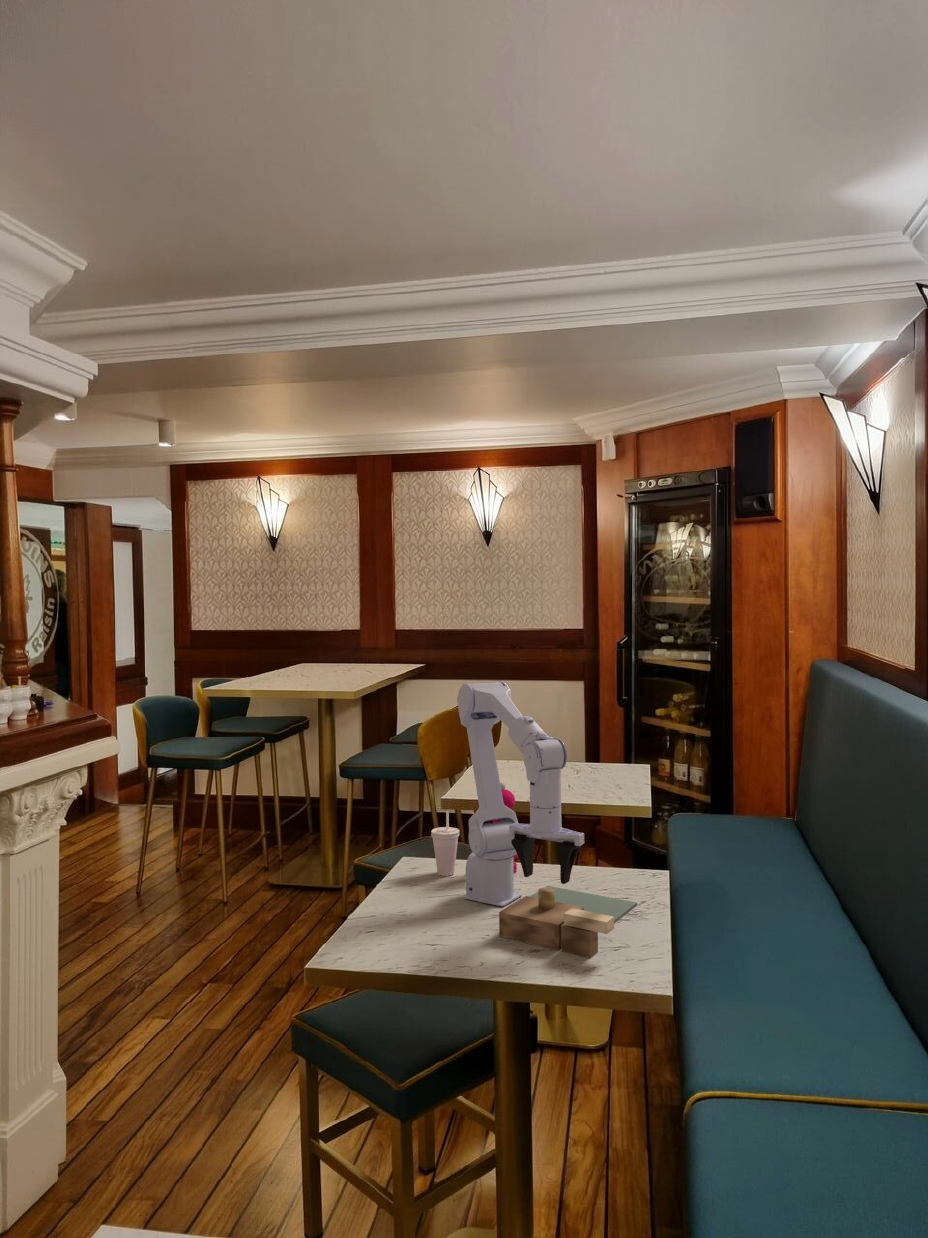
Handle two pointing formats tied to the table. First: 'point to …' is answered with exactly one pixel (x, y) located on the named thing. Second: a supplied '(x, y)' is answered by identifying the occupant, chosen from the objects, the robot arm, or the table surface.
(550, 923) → the lid
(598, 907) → the mat
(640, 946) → the table surface
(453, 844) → the smoothie
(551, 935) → the open wooden box
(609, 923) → the block
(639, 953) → the table surface
